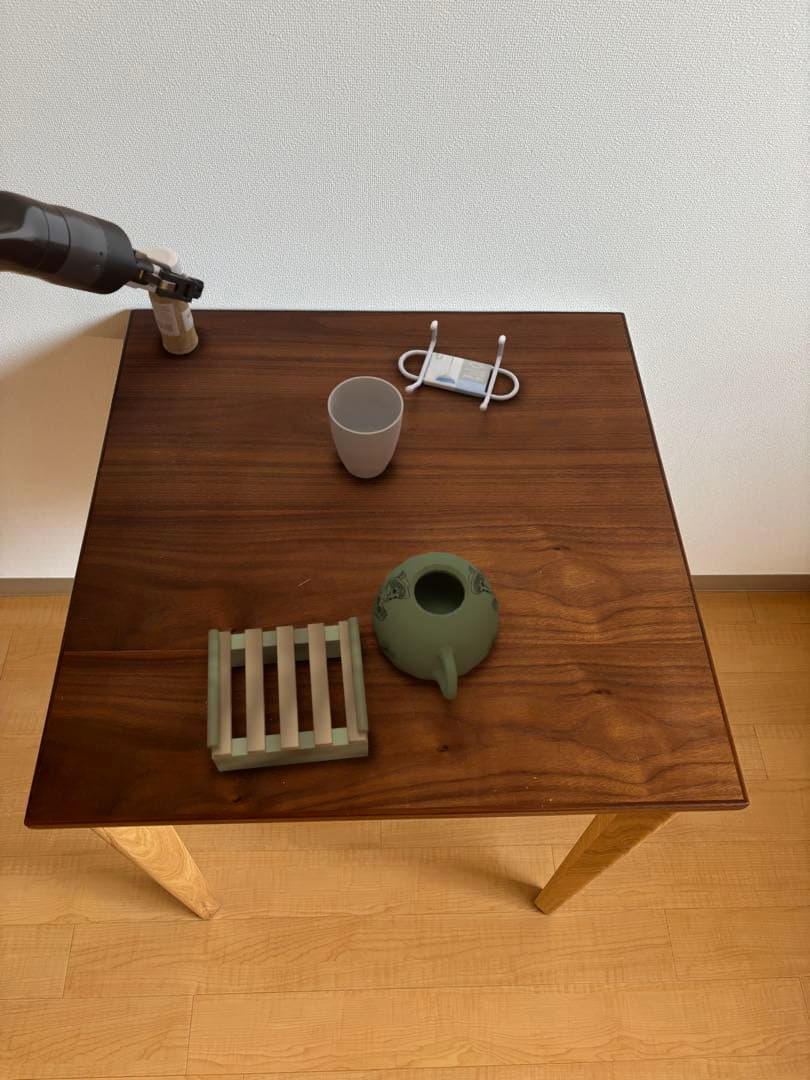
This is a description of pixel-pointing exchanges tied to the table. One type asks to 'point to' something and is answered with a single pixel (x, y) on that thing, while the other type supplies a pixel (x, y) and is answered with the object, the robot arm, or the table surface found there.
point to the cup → (365, 423)
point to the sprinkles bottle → (172, 309)
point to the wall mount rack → (458, 372)
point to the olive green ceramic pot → (436, 618)
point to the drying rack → (285, 695)
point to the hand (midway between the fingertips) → (173, 277)
